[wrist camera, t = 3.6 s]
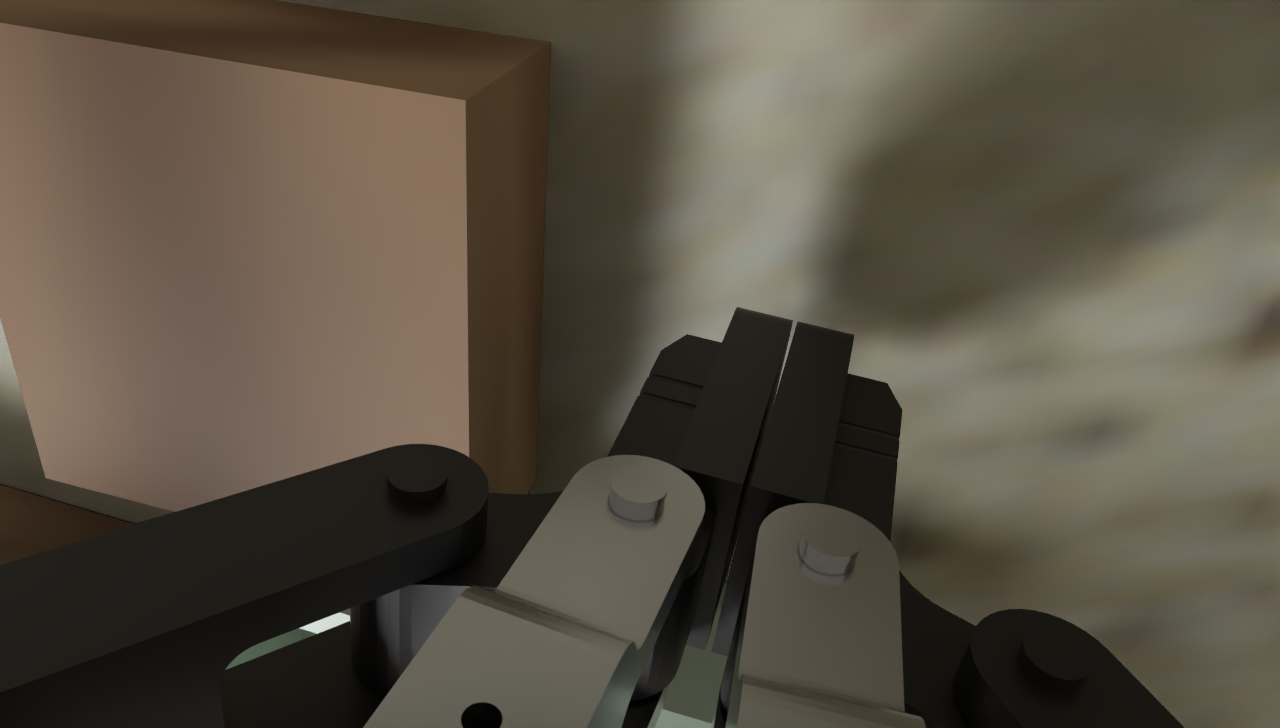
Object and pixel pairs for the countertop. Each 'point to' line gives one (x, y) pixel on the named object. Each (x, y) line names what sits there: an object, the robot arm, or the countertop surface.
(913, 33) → the countertop surface
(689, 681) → the tray
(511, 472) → the flat brown wooden block
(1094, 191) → the countertop surface
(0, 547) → the square wooden frame
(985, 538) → the countertop surface
